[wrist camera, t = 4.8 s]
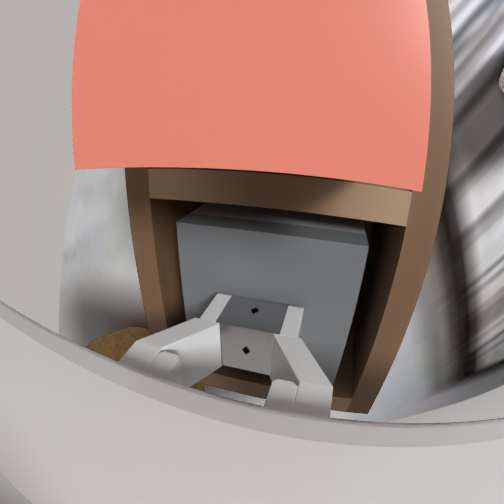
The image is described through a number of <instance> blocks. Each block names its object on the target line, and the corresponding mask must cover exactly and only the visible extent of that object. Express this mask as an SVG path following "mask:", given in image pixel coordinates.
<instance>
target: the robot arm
mask: <svg viewBox="0 0 504 504" xmlns="http://www.w3.org/2000/svg"><path fill="white" fill-rule="evenodd" d="M303 312H304V307H301V306H293V305H289V306H288V305H283V304H276V303H270V302H263V301H259V300H254V299H249V298H244V297H239V296H234V295H229V294H224V293H218V294H216V296H215V297H214V299H213V300H212V301H211V303H210V304H209V306H208V307H207V309H206V310H205V311H204V313H203V314H202V316H201V317H200V318H193V319H191V320H188V321H186V322H183V323H181V324H178V325H176V326H173V327H171V328H168V329H166V330H163V331H161V332H158V333H155V334H153V335H150V336H148V337H145V338H142V339H140V340H137V341H136V342H135V343H134V344H133V345H132V346H131V348H130V349H129V350H128V351H127V352H126V353H125V354H124V356H123V357H122V358H121V359H120V360H119V361H118V362H117V361H115V360H113V359H110V358H108V357H106V356H103V355H101V354H99V353H96V352H94V351H92V350H90V349H88V348H86V347H83V346H81V345H79V344H77V343H75V342H73V341H71V340H69V339H67V338H65V337H63V336H61V335H59V334H57V333H55V332H53V331H51V330H49V329H47V328H46V327H44V326H42V325H40V324H38V323H37V322H35V321H33V320H31V319H30V318H28V317H26V316H25V315H23V314H21V313H19V312H17V311H16V310H15V309H13V308H11V307H10V306H8V305H6V304H5V303H3V302H2V301H0V504H504V418H498V419H490V420H481V421H471V422H457V423H456V422H455V423H385V422H369V421H356V420H346V419H336V418H330V410H331V402H332V394H333V386H332V384H331V383H330V381H329V380H328V378H327V377H326V375H325V374H324V372H323V371H322V369H321V368H320V366H319V365H318V363H317V362H316V360H315V359H314V357H313V356H312V354H311V352H310V351H309V349H308V348H307V346H306V345H305V343H304V342H303V340H302V339H301V338H300V332H301V325H302V319H303ZM222 365H225V366H230V367H234V368H239V369H244V370H249V371H253V372H257V373H261V374H266V375H270V378H271V381H272V384H271V387H270V390H269V393H268V396H267V399H266V402H265V404H264V406H259V405H254V404H250V403H246V402H241V401H237V400H233V399H229V398H225V397H222V396H218V395H214V394H211V393H207V392H203V391H200V390H197V389H193V388H190V387H191V386H192V385H194V384H195V383H197V382H198V381H200V380H202V379H203V378H205V377H206V376H208V375H209V374H211V373H212V372H214V371H215V370H217V369H218V368H220V367H221V366H222Z"/></svg>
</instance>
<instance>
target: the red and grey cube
mask: <svg viewBox="0 0 504 504" xmlns="http://www.w3.org/2000/svg"><path fill="white" fill-rule="evenodd" d="M430 108H431V50H430V34H429V22H428V12H427V4H426V0H81V1H80V7H79V14H78V20H77V28H76V36H75V46H74V58H73V76H72V131H73V149H74V162H75V170H77V169H96V168H126V167H184V168H216V169H236V170H253V171H266V172H279V173H290V174H300V175H310V176H319V177H328V178H336V179H344V180H351V181H358V182H365V183H372V184H379V185H385V186H391V187H397V188H403V189H408V190H414V191H419V192H422V188H423V181H424V174H425V166H426V158H427V149H428V138H429V126H430Z"/></svg>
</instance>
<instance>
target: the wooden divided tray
mask: <svg viewBox="0 0 504 504" xmlns="http://www.w3.org/2000/svg"><path fill="white" fill-rule="evenodd" d="M426 4H427V12H428V22H429V34H430V50H431V108H430V126H429V138H428V149H427V158H426V166H425V174H424V181H423V188H422V192H419V191H414V190H408V189H403V188H397V187H391V186H385V185H379V184H372V183H365V182H358V181H351V180H344V179H336V178H328V177H319V176H310V175H300V174H290V173H279V172H266V171H253V170H236V169H216V168H184V167H126V168H125V177H126V189H127V199H128V208H129V217H130V225H131V233H132V240H133V247H134V254H135V260H136V266H137V272H138V278H139V283H140V289H141V294H142V299H143V304H144V309H145V313H146V318H147V323H148V327H149V331H150V335H153V334H155V333H158V332H161V331H163V330H166V329H168V328H171V327H173V326H176V325H178V324H181V323H183V322H186V314H185V306H184V298H183V289H182V280H181V270H180V260H179V249H178V237H177V224H176V222H178V221H179V220H181V219H182V218H184V217H185V216H187V215H188V214H190V213H191V212H193V211H194V210H196V209H197V208H199V207H200V206H202V205H204V204H205V203H207V202H209V203H221V204H232V205H243V206H253V207H263V208H272V209H281V210H290V211H299V212H307V213H315V214H323V215H331V216H338V217H346V218H353V219H360V220H363V223H364V227H365V232H366V236H367V241H368V245H369V248H368V253H367V258H366V263H365V268H364V273H363V277H362V282H361V286H360V291H359V295H358V299H357V303H356V307H355V311H354V315H353V319H352V323H351V327H350V330H349V334H348V338H347V341H346V345H345V348H344V352H343V355H342V358H341V362H340V365H339V368H338V371H337V374H336V377H335V380H334V383H333V394H332V402H331V410H335V411H344V412H353V413H364V414H368V412H369V410H370V408H371V407H372V405H373V403H374V401H375V399H376V397H377V395H378V393H379V391H380V389H381V387H382V385H383V383H384V381H385V379H386V377H387V374H388V372H389V370H390V368H391V366H392V363H393V361H394V359H395V357H396V354H397V352H398V350H399V347H400V345H401V342H402V340H403V337H404V335H405V332H406V330H407V327H408V325H409V322H410V319H411V316H412V314H413V311H414V308H415V305H416V302H417V299H418V296H419V293H420V290H421V287H422V284H423V281H424V278H425V274H426V271H427V267H428V264H429V260H430V257H431V253H432V249H433V245H434V241H435V237H436V233H437V228H438V224H439V219H440V215H441V210H442V205H443V199H444V194H445V188H446V181H447V175H448V168H449V160H450V151H451V142H452V130H453V114H454V56H453V41H452V30H451V21H450V13H449V6H448V0H426ZM198 382H199V383H203V384H206V385H210V386H214V387H217V388H221V389H225V390H229V391H233V392H237V393H241V394H245V395H250V396H254V397H259V398H263V399H267V396H268V393H269V390H270V387H271V384H272V381H271V378H270V375H266V374H261V373H257V372H252V371H247V370H243V369H238V368H234V367H230V366H225V365H222V366H221V367H220V368H218V369H217V370H215V371H214V372H212V373H211V374H209V375H208V376H206V377H205V378H203V379H202V380H200V381H198Z"/></svg>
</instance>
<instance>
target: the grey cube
mask: <svg viewBox="0 0 504 504" xmlns="http://www.w3.org/2000/svg"><path fill="white" fill-rule="evenodd" d="M176 224H177V237H178V249H179V260H180V270H181V280H182V289H183V298H184V306H185V314H186V321H188V320H191V319H193V318H200V317H201V316H202V314H203V313H204V311H205V310H206V309H207V307H208V306H209V304H210V303H211V301H212V300H213V299H214V297H215V296H216V294H218V293H224V294H229V295H234V296H239V297H244V298H249V299H254V300H259V301H263V302H270V303H276V304H283V305H288V306H289V305H293V306H301V307H304V312H303V319H302V325H301V332H300V338H301V339H302V340H303V342H304V343H305V345H306V346H307V348H308V349H309V351H310V352H311V354H312V356H313V357H314V359H315V360H316V362H317V363H318V365H319V366H320V368H321V369H322V371H323V372H324V374H325V375H326V377H327V378H328V380H329V381H330V383H331V384H332V386H333V383H334V380H335V377H336V374H337V371H338V368H339V365H340V362H341V358H342V355H343V352H344V348H345V345H346V341H347V338H348V334H349V330H350V327H351V323H352V319H353V315H354V311H355V307H356V303H357V299H358V295H359V291H360V286H361V282H362V277H363V273H364V268H365V263H366V258H367V253H368V248H369V245H368V241H367V236H366V232H365V227H364V223H363V220H360V219H353V218H346V217H338V216H331V215H323V214H315V213H307V212H299V211H290V210H281V209H272V208H263V207H253V206H243V205H232V204H221V203H209V202H207V203H205V204H204V205H202V206H200V207H199V208H197V209H196V210H194V211H193V212H191V213H190V214H188V215H187V216H185V217H184V218H182V219H181V220H179V221H178V222H176ZM238 369H239V368H238ZM243 370H244V369H243ZM247 371H249V370H247ZM252 372H253V371H252Z"/></svg>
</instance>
